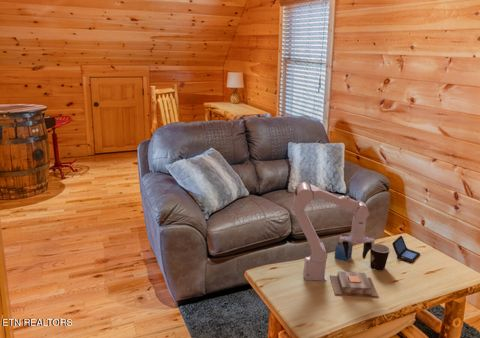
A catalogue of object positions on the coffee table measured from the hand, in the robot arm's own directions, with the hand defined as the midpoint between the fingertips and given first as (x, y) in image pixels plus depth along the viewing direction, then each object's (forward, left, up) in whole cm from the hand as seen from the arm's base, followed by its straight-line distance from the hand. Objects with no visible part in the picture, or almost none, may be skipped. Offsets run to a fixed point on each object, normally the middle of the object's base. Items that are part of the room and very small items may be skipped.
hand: (354, 257), depth 180 cm
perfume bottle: (-1, +18, -11) cm, 21 cm away
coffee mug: (+14, +12, -11) cm, 21 cm away
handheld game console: (+31, +23, -11) cm, 40 cm away
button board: (-1, -7, -10) cm, 13 cm away
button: (-1, -7, -10) cm, 12 cm away
